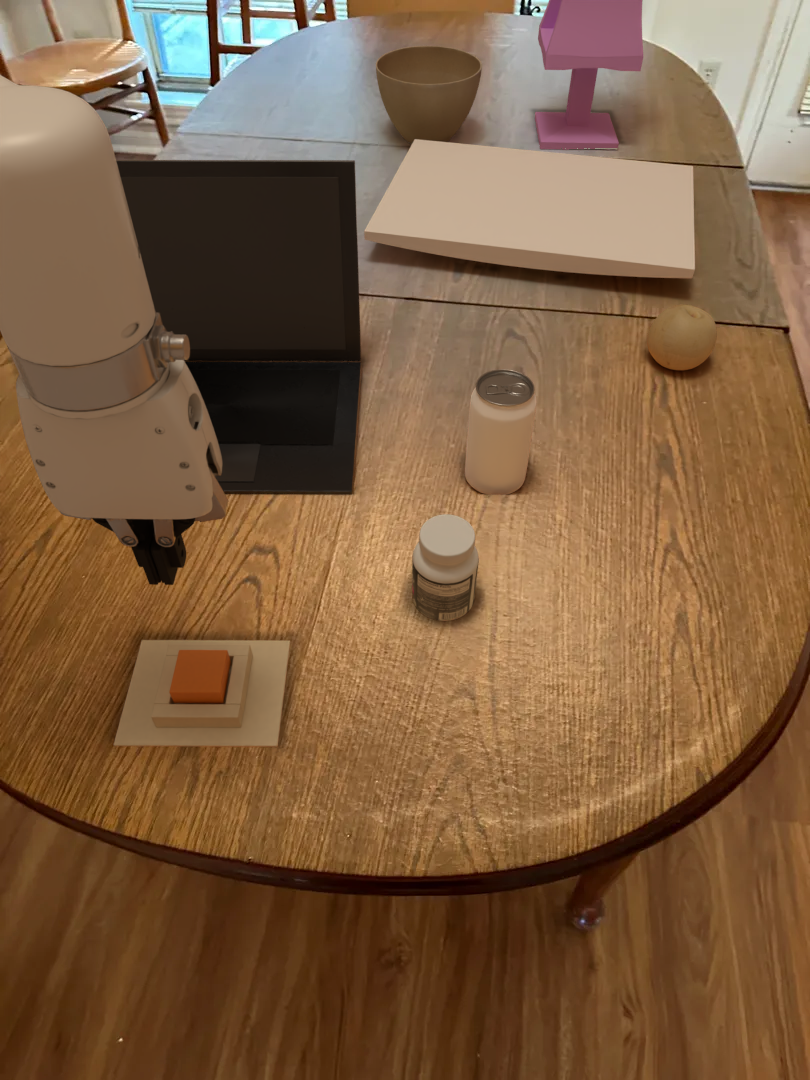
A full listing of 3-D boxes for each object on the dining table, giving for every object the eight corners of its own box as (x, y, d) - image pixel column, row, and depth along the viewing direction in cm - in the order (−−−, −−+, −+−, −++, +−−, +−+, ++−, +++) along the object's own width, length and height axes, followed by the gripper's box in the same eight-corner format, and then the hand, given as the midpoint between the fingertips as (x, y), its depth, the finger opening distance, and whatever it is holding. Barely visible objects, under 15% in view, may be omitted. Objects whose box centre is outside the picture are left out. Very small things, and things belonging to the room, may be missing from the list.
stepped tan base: (118, 753, 63) (106, 734, 61) (145, 649, 70) (136, 628, 67) (279, 754, 63) (274, 735, 61) (292, 649, 70) (288, 628, 67)
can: (528, 498, 82) (543, 408, 73) (466, 498, 82) (473, 408, 73) (521, 456, 86) (535, 366, 77) (462, 456, 86) (469, 366, 77)
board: (365, 262, 113) (364, 231, 110) (414, 167, 134) (414, 139, 130) (685, 301, 107) (694, 269, 103) (685, 195, 127) (693, 166, 124)
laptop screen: (354, 161, 82) (355, 160, 83) (69, 160, 83) (72, 159, 83) (360, 361, 95) (361, 359, 95) (112, 361, 95) (114, 358, 95)
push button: (173, 703, 63) (168, 692, 62) (183, 661, 66) (178, 649, 64) (223, 703, 63) (219, 692, 62) (231, 661, 66) (227, 649, 64)
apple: (625, 356, 98) (647, 293, 95) (669, 366, 102) (690, 306, 99) (672, 372, 91) (696, 305, 89) (716, 381, 96) (740, 317, 93)
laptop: (352, 503, 81) (351, 490, 80) (64, 502, 82) (58, 489, 80) (361, 374, 96) (360, 361, 95) (116, 373, 96) (112, 360, 95)
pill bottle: (424, 573, 75) (426, 501, 68) (481, 591, 74) (490, 519, 66) (402, 618, 72) (402, 548, 64) (462, 637, 70) (469, 567, 63)
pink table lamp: (529, 116, 149) (555, -123, 122) (611, 117, 148) (656, -122, 122) (534, 151, 138) (565, -102, 112) (623, 152, 138) (675, -101, 112)
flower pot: (357, 136, 143) (353, 62, 133) (429, 110, 151) (430, 38, 141) (424, 169, 134) (426, 91, 125) (497, 139, 142) (504, 64, 133)
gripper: (242, 316, 44) (277, 531, 58) (-23, 311, 44) (76, 528, 58) (220, 400, 39) (264, 614, 53) (-78, 395, 39) (44, 610, 53)
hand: (166, 568), depth 56 cm, fingers closed
